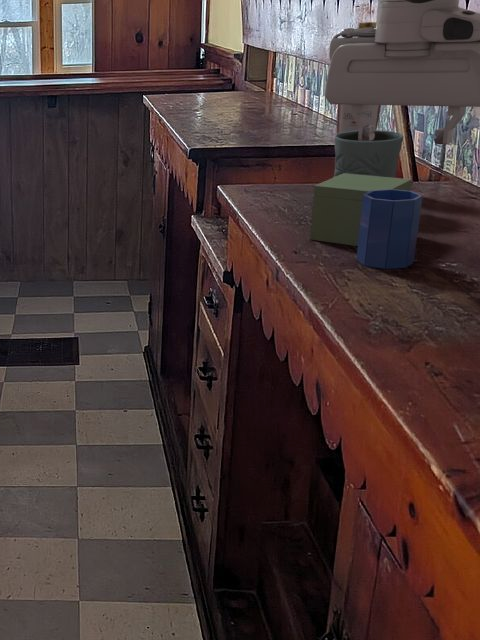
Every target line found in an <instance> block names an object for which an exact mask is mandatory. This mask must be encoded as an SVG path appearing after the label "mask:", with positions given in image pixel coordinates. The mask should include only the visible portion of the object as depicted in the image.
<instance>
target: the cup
mask: <svg viewBox="0 0 480 640" xmlns="http://www.w3.org/2000/svg"><path fill="white" fill-rule="evenodd" d="M422 202H423V195H422V194H420V193H418V192H416V191H413V190H410V191H406V190H396V189H386V190H372V191H369V192H367V193H365V194H363V203H362V212H361V221H360V230H359V240H358V246H357V249H356V257H355V258H356V259H355V260H356V261H357V262H358V263H360V264H361V265H363V266H364V267H368V268H375V269H382V270H395V269H407V268H408V267H409V266H411V265H412V264H414V262H415V254H416V249H417V248H416V247H417V242H418V241H417V239H418V233H419V232H418V231H419V227H420V226H419V225H420V217H421V211H422Z"/></svg>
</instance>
